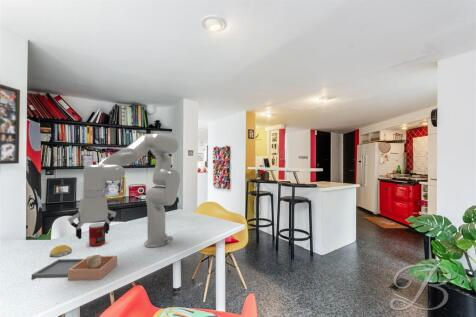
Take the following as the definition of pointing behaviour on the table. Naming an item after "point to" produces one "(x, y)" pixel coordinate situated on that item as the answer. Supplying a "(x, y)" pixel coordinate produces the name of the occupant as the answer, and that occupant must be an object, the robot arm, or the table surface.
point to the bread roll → (60, 251)
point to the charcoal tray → (56, 269)
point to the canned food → (96, 234)
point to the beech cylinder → (94, 262)
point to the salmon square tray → (92, 274)
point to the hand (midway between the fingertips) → (93, 235)
